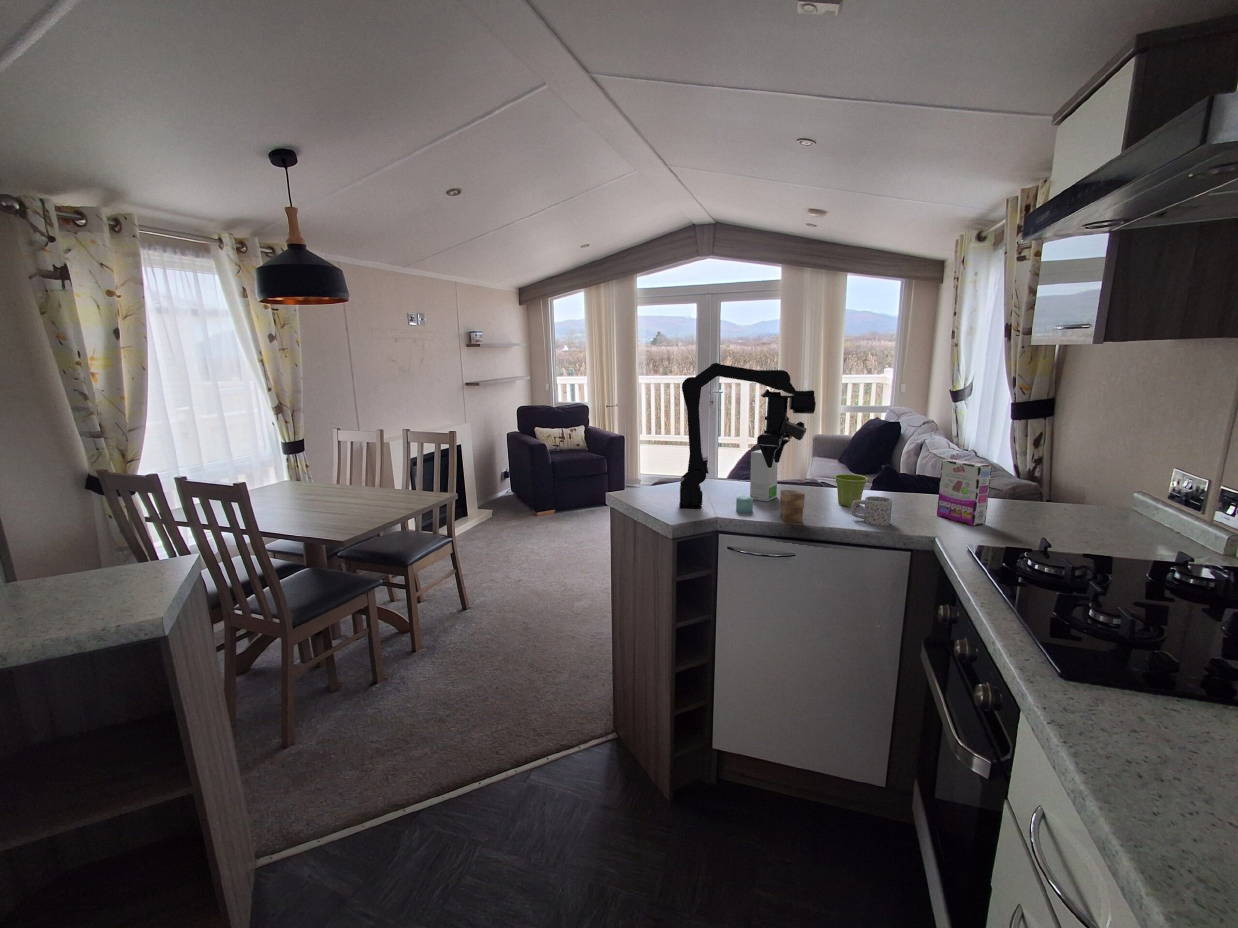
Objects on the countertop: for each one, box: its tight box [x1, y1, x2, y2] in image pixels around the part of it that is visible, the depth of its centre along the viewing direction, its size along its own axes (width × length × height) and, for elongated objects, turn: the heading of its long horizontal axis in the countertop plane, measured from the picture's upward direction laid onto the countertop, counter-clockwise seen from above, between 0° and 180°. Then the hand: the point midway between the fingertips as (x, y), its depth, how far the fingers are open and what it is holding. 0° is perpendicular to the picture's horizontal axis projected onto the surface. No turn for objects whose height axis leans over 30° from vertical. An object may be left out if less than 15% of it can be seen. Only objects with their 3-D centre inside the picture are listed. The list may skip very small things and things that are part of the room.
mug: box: [850, 495, 893, 527], centre depth 146 cm, size 10×7×7 cm
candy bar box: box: [936, 458, 993, 527], centre depth 145 cm, size 11×5×16 cm, turn 21°
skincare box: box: [749, 449, 779, 502], centre depth 172 cm, size 8×7×16 cm
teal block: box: [735, 495, 754, 514], centre depth 158 cm, size 5×5×4 cm
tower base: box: [780, 504, 804, 523], centre depth 149 cm, size 5×5×4 cm
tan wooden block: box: [779, 489, 806, 509], centre depth 149 cm, size 5×5×4 cm
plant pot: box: [834, 473, 869, 508], centre depth 163 cm, size 9×9×9 cm
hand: (773, 465), depth 159 cm, fingers open, 9 cm apart
